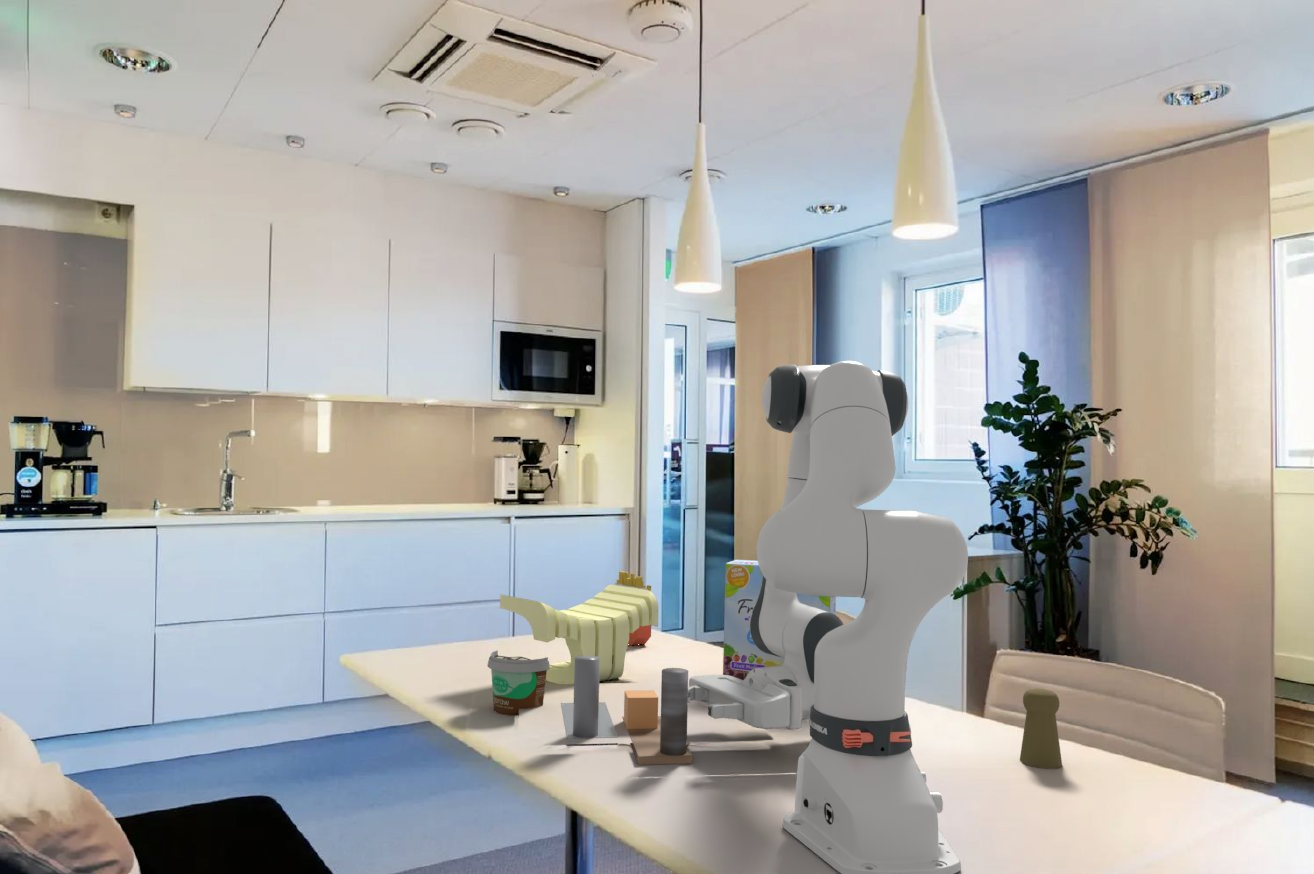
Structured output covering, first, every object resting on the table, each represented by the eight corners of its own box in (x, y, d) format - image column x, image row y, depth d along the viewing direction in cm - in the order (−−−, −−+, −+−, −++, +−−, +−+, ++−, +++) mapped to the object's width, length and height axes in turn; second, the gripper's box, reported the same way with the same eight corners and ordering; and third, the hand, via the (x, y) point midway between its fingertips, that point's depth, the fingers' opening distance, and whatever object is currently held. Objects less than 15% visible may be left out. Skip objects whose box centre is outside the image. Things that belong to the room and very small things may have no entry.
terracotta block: (657, 728, 147) (658, 697, 148) (627, 728, 147) (628, 697, 147) (653, 720, 152) (653, 690, 153) (623, 720, 152) (624, 690, 152)
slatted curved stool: (545, 696, 173) (548, 603, 173) (497, 681, 184) (500, 594, 185) (656, 674, 194) (658, 591, 195) (607, 662, 205) (609, 584, 206)
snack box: (720, 691, 180) (722, 562, 181) (731, 682, 188) (733, 558, 190) (829, 702, 173) (831, 567, 174) (835, 692, 181) (837, 564, 183)
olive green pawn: (1066, 770, 135) (1066, 695, 135) (1023, 766, 136) (1024, 693, 137) (1057, 758, 141) (1057, 686, 141) (1016, 754, 142) (1016, 684, 143)
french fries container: (628, 639, 236) (629, 570, 236) (652, 646, 227) (653, 574, 227) (613, 640, 233) (615, 570, 234) (637, 647, 224) (638, 574, 225)
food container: (471, 712, 160) (473, 655, 161) (493, 704, 166) (494, 649, 166) (528, 722, 155) (529, 663, 155) (548, 714, 160) (550, 657, 160)
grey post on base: (617, 744, 142) (619, 660, 142) (566, 745, 141) (569, 660, 141) (605, 708, 164) (606, 635, 164) (560, 709, 162) (562, 635, 163)
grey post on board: (692, 763, 134) (693, 673, 134) (638, 764, 132) (640, 673, 133) (668, 722, 155) (669, 645, 156) (622, 723, 154) (623, 645, 155)
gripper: (732, 662, 153) (661, 669, 146) (808, 689, 135) (730, 698, 128) (731, 700, 153) (660, 708, 146) (807, 731, 135) (730, 743, 128)
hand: (693, 704), depth 137 cm, fingers open, 8 cm apart
